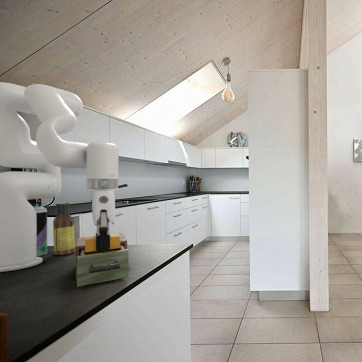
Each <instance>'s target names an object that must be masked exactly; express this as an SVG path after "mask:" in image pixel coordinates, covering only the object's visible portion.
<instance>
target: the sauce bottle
mask: <svg viewBox="0 0 362 362" xmlns="http://www.w3.org/2000/svg"><path fill="white" fill-rule="evenodd" d="M70 205H71V204H70V202H58V203H55V208H56V216H55V218H54V219H53V222H52V225H53V228H52V235H53V251H54V255H55V256H65V255H70V254H73V253H75V252H76V235H75V222H74V220H73V217H72V215H71V213H70V207H71V206H70Z"/></svg>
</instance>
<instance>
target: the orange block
mask: <svg viewBox="0 0 362 362" xmlns="http://www.w3.org/2000/svg"><path fill="white" fill-rule="evenodd" d="M109 234H110V249H115V248H120V235H119V234H118V233H109ZM84 237H85V252H93V251H97V250H96V235H92V236H90V235H89V236H84ZM107 250H108V249H107ZM99 251H100V250H99Z"/></svg>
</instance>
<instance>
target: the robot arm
mask: <svg viewBox="0 0 362 362" xmlns="http://www.w3.org/2000/svg"><path fill="white" fill-rule="evenodd" d="M83 110H84V104H83V100H81V98H80V97H79V95H76V94H75V93H74V92H71V91H69V90H64V89H61V88H57V87H54V86H52V85H51V86H50V85H47V84H43V83H33V84H30V85H28V86H23V85H20V84H15V83H10V82H4V81H0V166H1V167H5V168H11V169H12V168H14V169H36V171H17V170H16V171H2V172H0V273H2V272H11V271H17V270H24V269H27V268H31V267H34V266H38V265H40V264H41V263H43V262H44V261H43V260H44V259H43V257H40V256H36V211H35V209H34V207H33V206H34V205H32V204H31V203H30V202H29V200H40V199H42V200H43V199H44V200H45V199H52V198H55V197H57V196H58V195H59V194H60V193H61V191H62V184H63V183H62V172H61V168H71V169H72V168H73V169H86V191H89V192H91V210H92V220H93V225H94V226H96V233H95V236H96V250H97V251H99V250H107V249H110V235H109V234H110V224H111V225H115V224H116V196H115V191H119V166H120V165H119V163H120V162H119V161H120V160H119V159H120V157H119V156H120V155H119V153H120V151H119V147H118V145H116V144H114V143H110V142H100V141H96V142H94V141H93V142H89V143H85V142H78V141H70V140H64V139H62V138H61V137H60V135H65V134H68V133H70V132H72V131H73V130H74V129H75V128H76V127H77V126H78V118H77V117H79V116H80V115H82V113H83ZM18 112H19V113H24V114H29V115H34V116H36V118H37V119H38V121H39V122H40V123H41V124H40V125H39V126H38V128H37V130H36V134H35V141H33V140H32V137H31V128H30V126H29V124H28V123H27V121H25V119H24V118H23V117H22V116H21V115H19V113H18Z"/></svg>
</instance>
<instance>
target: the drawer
mask: <svg viewBox="0 0 362 362" xmlns="http://www.w3.org/2000/svg"><path fill="white" fill-rule="evenodd" d="M129 255H130V253H129V249H128V248H127V249H124V247H123V245H122V243H121V244H120V248H115V249H108V250H100V251H93V252H85V248H82V249H81V256H77V280H76V287H77V288H80V287H84V286H89V285H94V284H99V283H104V282H109V281H115V280H119V279H124V278H125V279H126V278H129V276H130V275H129V274H130V273H129V272H130V271H129V263H130V262H129V259H130V258H129Z"/></svg>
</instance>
